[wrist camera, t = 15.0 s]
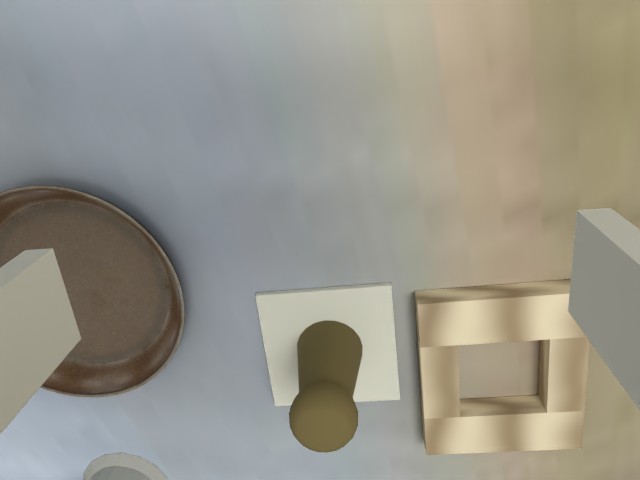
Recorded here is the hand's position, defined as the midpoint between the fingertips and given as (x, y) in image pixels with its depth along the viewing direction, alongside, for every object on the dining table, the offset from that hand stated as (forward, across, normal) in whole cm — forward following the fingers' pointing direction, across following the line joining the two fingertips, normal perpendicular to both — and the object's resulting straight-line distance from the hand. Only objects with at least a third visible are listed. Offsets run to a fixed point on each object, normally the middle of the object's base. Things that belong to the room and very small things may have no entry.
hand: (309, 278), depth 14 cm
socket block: (+30, +12, -24) cm, 40 cm away
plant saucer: (+31, -25, -14) cm, 42 cm away
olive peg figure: (+29, -3, -22) cm, 37 cm away
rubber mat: (+30, -3, -22) cm, 37 cm away
